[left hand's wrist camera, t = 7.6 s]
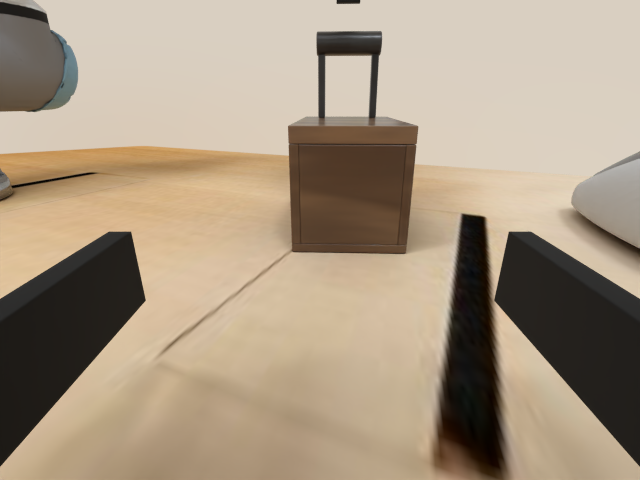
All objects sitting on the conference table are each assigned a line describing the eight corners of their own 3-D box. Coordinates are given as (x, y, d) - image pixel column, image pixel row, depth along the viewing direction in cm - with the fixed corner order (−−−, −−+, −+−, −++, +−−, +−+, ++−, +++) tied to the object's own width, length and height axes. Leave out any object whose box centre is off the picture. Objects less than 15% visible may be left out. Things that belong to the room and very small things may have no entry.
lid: (306, 128, 42) (304, 36, 39) (385, 128, 42) (391, 35, 38) (288, 143, 26) (283, -10, 23) (416, 144, 26) (431, -11, 22)
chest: (306, 200, 45) (305, 128, 42) (381, 201, 45) (386, 128, 41) (292, 251, 30) (288, 144, 26) (405, 253, 29) (416, 144, 26)
